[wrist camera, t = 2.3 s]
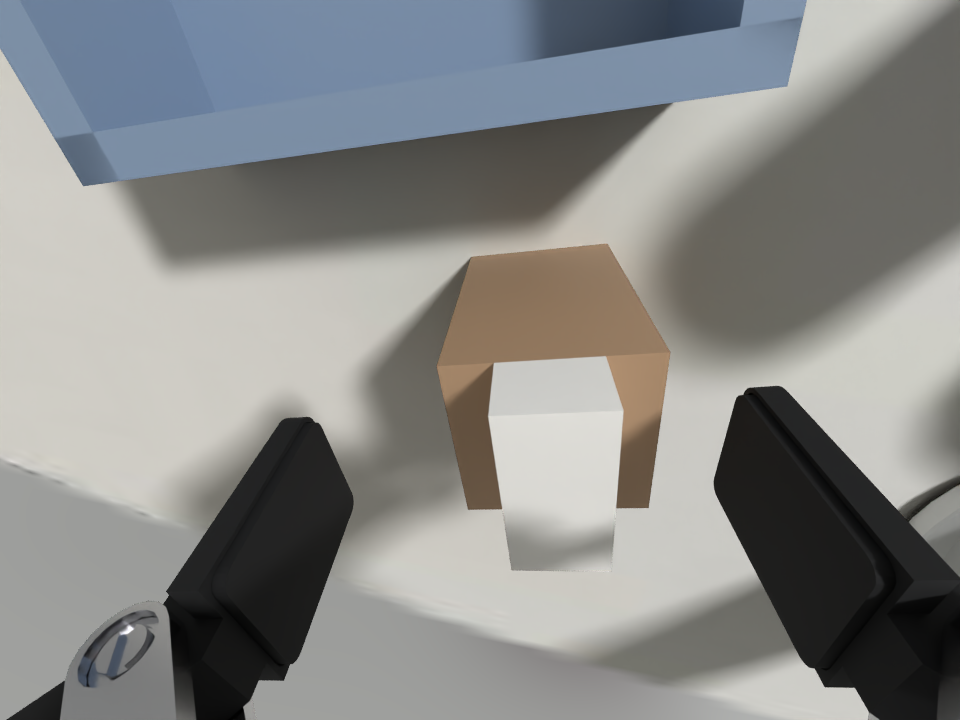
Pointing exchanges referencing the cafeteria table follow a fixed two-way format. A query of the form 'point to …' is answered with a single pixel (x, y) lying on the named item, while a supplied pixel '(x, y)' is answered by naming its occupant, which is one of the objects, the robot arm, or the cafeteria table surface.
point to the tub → (364, 70)
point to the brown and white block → (554, 400)
